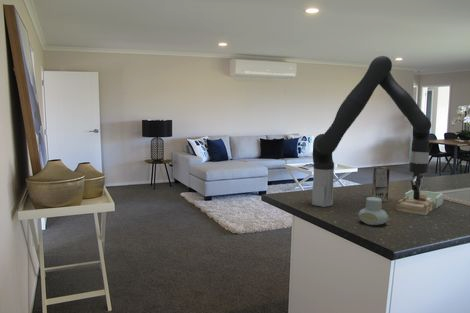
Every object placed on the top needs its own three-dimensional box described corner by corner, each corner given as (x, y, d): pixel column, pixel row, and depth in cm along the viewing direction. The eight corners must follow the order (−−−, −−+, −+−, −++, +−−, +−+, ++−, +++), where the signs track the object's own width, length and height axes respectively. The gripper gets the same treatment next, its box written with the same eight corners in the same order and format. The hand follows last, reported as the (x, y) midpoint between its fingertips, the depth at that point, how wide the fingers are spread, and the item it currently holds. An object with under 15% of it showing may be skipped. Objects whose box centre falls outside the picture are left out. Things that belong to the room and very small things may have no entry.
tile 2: (431, 198, 182) (430, 202, 182) (419, 196, 185) (419, 200, 185) (428, 200, 178) (428, 204, 178) (417, 198, 181) (416, 202, 181)
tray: (436, 208, 172) (437, 198, 171) (403, 203, 180) (404, 193, 180) (442, 203, 181) (443, 193, 181) (411, 199, 190) (412, 189, 190)
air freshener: (390, 223, 149) (391, 199, 148) (382, 228, 143) (383, 203, 142) (363, 218, 156) (364, 194, 155) (355, 222, 150) (356, 198, 149)
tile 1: (425, 198, 173) (426, 195, 174) (413, 196, 176) (414, 193, 177) (426, 205, 176) (427, 201, 177) (415, 203, 180) (416, 200, 180)
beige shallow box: (425, 215, 161) (426, 206, 161) (396, 210, 169) (396, 201, 168) (433, 208, 172) (434, 200, 171) (405, 204, 179) (406, 196, 179)
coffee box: (388, 201, 184) (390, 169, 182) (374, 201, 185) (376, 168, 183) (384, 197, 193) (386, 166, 191) (371, 197, 194) (373, 166, 192)
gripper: (414, 159, 177) (411, 195, 179) (406, 162, 167) (403, 200, 169) (431, 161, 172) (428, 198, 175) (424, 164, 162) (421, 203, 164)
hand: (416, 199), depth 172 cm, fingers closed
